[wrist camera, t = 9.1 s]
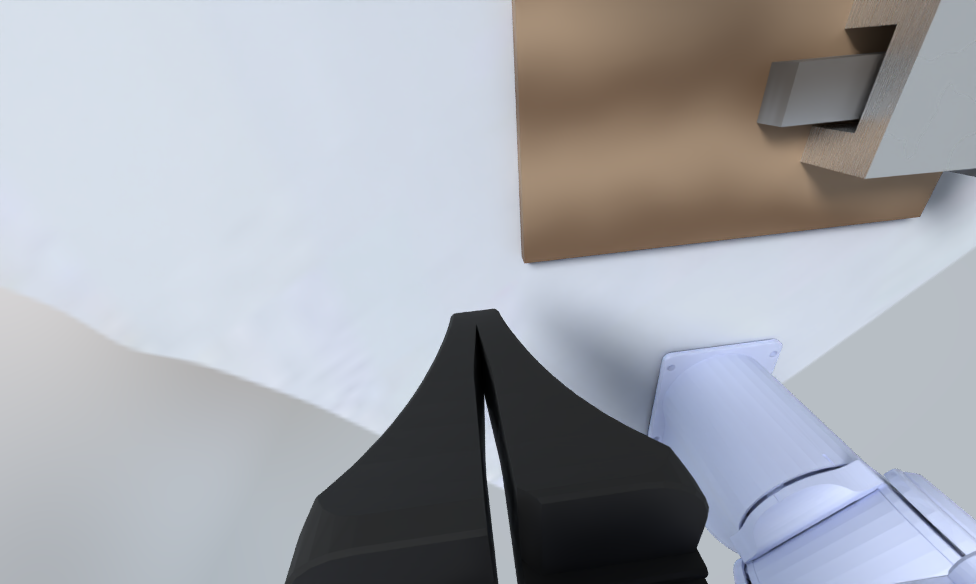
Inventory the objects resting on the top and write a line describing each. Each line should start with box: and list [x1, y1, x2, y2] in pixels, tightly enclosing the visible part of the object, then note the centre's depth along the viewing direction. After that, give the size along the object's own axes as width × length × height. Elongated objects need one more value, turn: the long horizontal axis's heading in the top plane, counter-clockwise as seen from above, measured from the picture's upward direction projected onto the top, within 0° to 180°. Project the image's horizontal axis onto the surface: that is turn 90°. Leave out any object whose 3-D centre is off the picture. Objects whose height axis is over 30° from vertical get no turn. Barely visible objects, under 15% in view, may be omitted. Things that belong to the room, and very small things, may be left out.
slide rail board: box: [512, 0, 976, 263], centre depth 16 cm, size 14×22×5 cm, turn 94°
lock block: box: [800, 0, 976, 179], centre depth 16 cm, size 7×6×3 cm
